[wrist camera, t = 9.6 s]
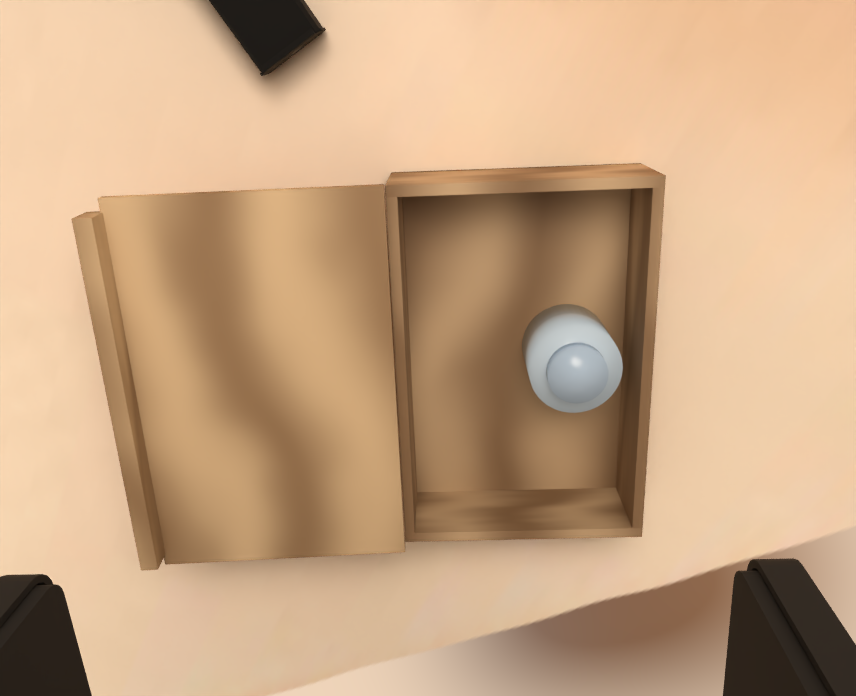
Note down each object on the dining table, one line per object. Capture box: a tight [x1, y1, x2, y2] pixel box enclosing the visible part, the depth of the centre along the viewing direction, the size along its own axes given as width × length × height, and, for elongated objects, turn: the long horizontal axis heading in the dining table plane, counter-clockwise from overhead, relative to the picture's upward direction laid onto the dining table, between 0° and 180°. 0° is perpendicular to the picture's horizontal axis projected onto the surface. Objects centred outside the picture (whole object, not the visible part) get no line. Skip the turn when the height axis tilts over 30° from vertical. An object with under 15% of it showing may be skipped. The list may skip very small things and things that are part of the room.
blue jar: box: [522, 304, 623, 413], centre depth 38 cm, size 4×4×4 cm
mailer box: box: [385, 163, 666, 542], centre depth 38 cm, size 12×18×4 cm, turn 2°
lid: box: [72, 184, 405, 570], centre depth 35 cm, size 13×18×2 cm
